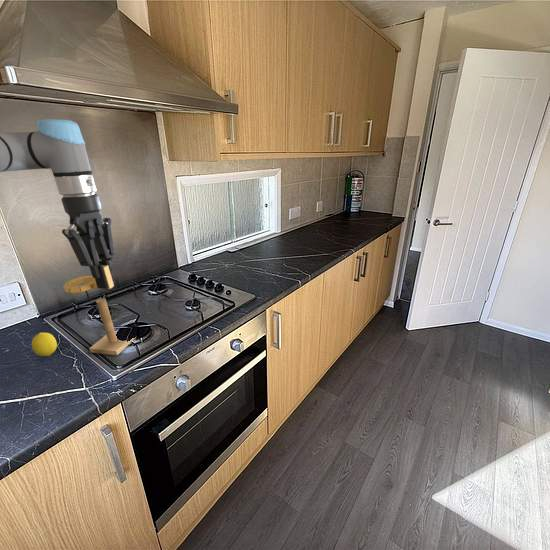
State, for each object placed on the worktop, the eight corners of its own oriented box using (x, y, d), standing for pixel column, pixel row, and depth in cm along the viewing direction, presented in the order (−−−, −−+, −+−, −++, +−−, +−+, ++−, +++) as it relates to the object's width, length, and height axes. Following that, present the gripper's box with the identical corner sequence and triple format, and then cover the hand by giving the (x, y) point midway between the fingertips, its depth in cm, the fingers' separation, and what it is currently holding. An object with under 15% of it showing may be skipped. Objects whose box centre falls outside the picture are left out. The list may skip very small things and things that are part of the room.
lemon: (32, 361, 84) (22, 338, 81) (48, 349, 89) (39, 327, 86) (49, 362, 83) (40, 339, 80) (65, 350, 88) (56, 327, 85)
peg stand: (90, 352, 87) (74, 306, 81) (111, 335, 95) (98, 292, 89) (117, 355, 85) (103, 309, 79) (136, 337, 93) (124, 294, 87)
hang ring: (57, 292, 76) (49, 271, 74) (82, 279, 84) (76, 259, 81) (100, 294, 73) (93, 272, 71) (122, 280, 81) (117, 260, 79)
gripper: (66, 199, 61) (98, 299, 70) (115, 190, 74) (136, 275, 83) (37, 200, 62) (71, 298, 72) (89, 190, 75) (113, 274, 85)
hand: (106, 285), depth 77 cm, fingers closed on hang ring, 2 cm apart
